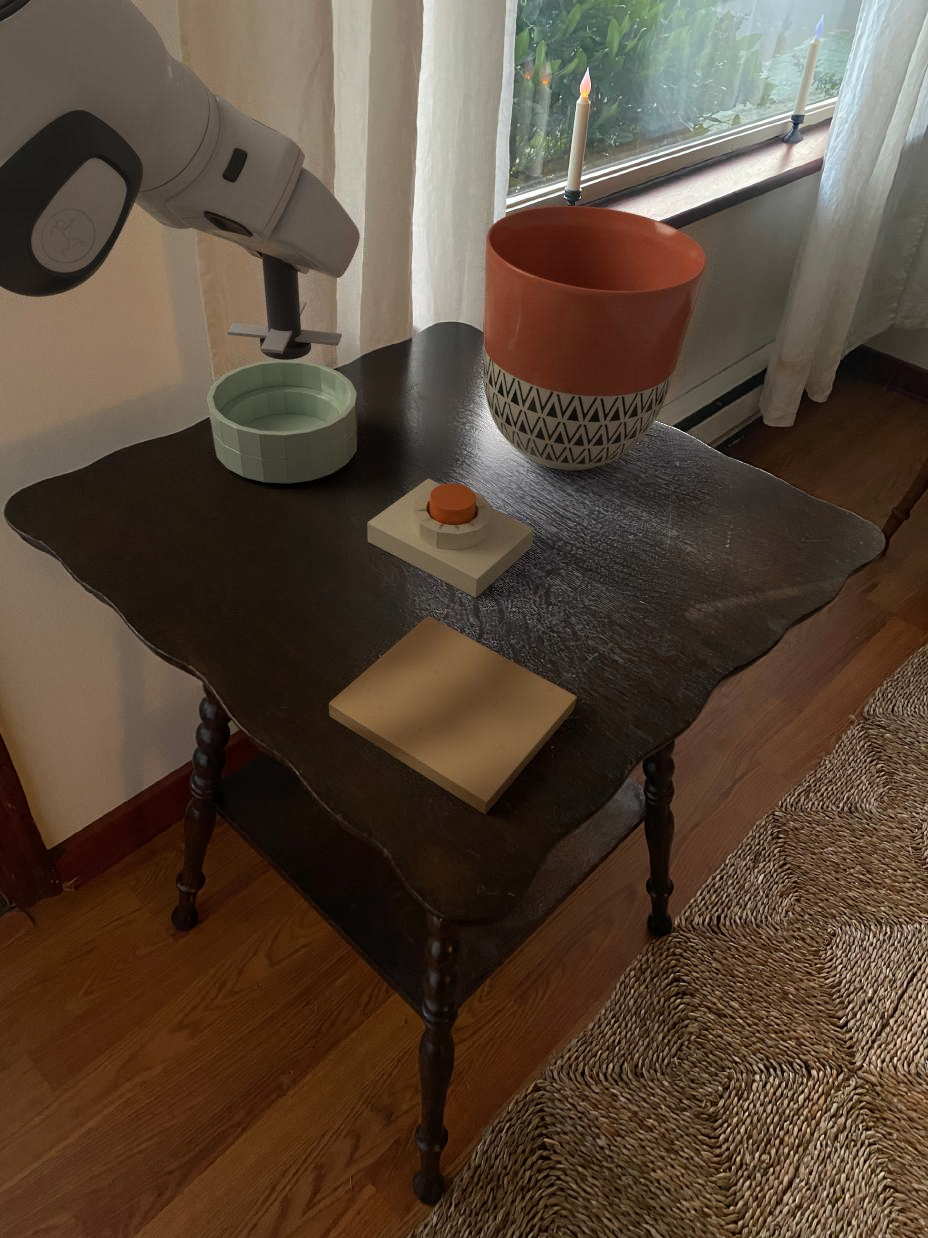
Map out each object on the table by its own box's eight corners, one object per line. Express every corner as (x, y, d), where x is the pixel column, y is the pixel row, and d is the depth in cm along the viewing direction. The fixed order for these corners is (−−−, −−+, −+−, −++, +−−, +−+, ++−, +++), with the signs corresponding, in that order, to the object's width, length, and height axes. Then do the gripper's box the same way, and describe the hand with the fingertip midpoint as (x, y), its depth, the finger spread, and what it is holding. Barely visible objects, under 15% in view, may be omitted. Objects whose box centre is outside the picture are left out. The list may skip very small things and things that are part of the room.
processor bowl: (185, 451, 90) (175, 397, 85) (284, 397, 98) (280, 346, 94) (290, 506, 84) (285, 452, 80) (385, 443, 93) (385, 391, 89)
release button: (420, 514, 79) (420, 497, 77) (447, 493, 81) (448, 477, 80) (457, 532, 77) (458, 515, 76) (483, 510, 79) (485, 494, 78)
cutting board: (329, 716, 66) (328, 703, 65) (427, 628, 73) (428, 614, 72) (485, 815, 61) (487, 802, 60) (574, 709, 68) (577, 696, 67)
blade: (216, 368, 75) (197, 221, 67) (245, 318, 82) (231, 180, 74) (330, 379, 75) (324, 234, 67) (349, 329, 82) (346, 191, 74)
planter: (446, 413, 98) (458, 210, 83) (608, 395, 103) (646, 200, 88) (506, 519, 85) (532, 300, 70) (688, 493, 90) (749, 283, 75)
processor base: (367, 541, 81) (366, 505, 78) (427, 496, 87) (428, 461, 84) (475, 598, 76) (479, 562, 74) (532, 547, 82) (537, 511, 79)
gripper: (56, 162, 65) (177, 258, 78) (274, 236, 57) (367, 328, 70) (92, 81, 64) (207, 191, 77) (315, 145, 57) (401, 254, 70)
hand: (285, 257), depth 74 cm, fingers closed on blade, 3 cm apart
